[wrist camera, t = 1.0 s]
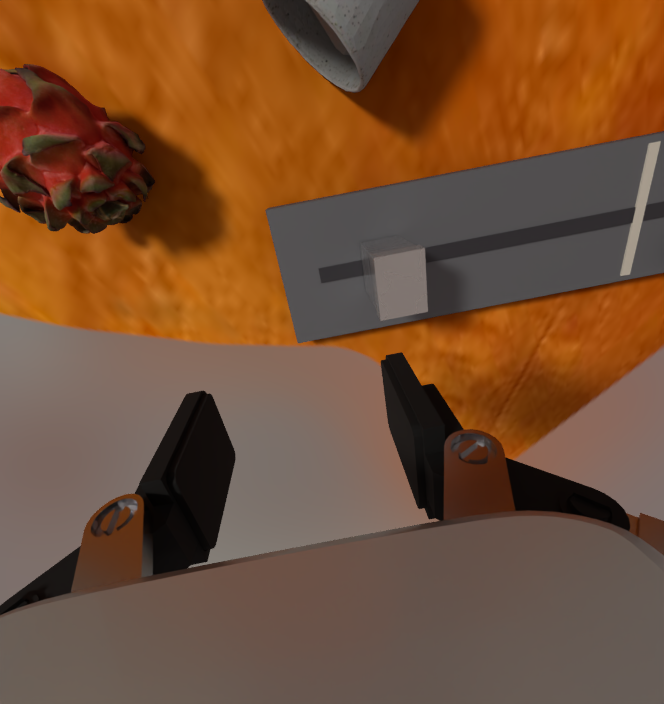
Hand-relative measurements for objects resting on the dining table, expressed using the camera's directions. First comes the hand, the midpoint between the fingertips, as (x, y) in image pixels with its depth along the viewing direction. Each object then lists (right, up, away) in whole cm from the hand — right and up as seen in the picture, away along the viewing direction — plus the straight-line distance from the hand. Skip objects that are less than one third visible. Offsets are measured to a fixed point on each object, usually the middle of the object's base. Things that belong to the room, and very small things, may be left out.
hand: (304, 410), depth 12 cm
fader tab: (+5, +9, +15) cm, 19 cm away
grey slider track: (+15, +12, +17) cm, 26 cm away
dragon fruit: (-17, +16, +13) cm, 26 cm away
